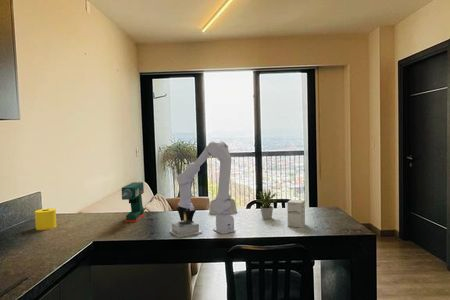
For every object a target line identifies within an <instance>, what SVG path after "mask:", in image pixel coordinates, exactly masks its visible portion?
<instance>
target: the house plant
mask: <svg viewBox="0 0 450 300" xmlns="http://www.w3.org/2000/svg"><path fill="white" fill-rule="evenodd" d="M263 191H264V192H262V191H259V194H258V193H256V195H257V196H258V197H259V198H260V199H261V200H255V202H258V203H261V204H262V206H260V213H261V218H262V220H270V219H271V220H272V218H273V212H274V211H273V210H274V207H273V205H272V204H273V203H276V204H278V202H277V201H276V198H274V199H273V197H275V196H277V195H278V193H280V192H274V193H273V194H272V191H271V189H269V190H268V193H267V192H266V190H265V188H264V190H263Z"/></svg>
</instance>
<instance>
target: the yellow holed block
mask: <svg viewBox="0 0 450 300" xmlns="http://www.w3.org/2000/svg"><path fill="white" fill-rule="evenodd" d="M56 211H57V210H56V208H53V207H51V208H41V209H37V210H35V211H34V215H35V216H34V218H35V230H37V231H44V230H52V229H54V228H56V227H57V213H56Z"/></svg>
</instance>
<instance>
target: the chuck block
mask: <svg viewBox="0 0 450 300" xmlns="http://www.w3.org/2000/svg"><path fill="white" fill-rule="evenodd" d="M168 231H169V233H170V234H172V235H173V236H175V237H177V238H183V237H184V238H185V237H189V236H193V235H200V234H202V232H203V231H202V230H200V225H199V223H197V222H196V221H193V220H192V221H191V220H187V221H181V220H180V221H177V222H171V228H170V229H169V230H168Z"/></svg>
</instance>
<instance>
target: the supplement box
mask: <svg viewBox="0 0 450 300" xmlns="http://www.w3.org/2000/svg"><path fill="white" fill-rule="evenodd" d="M305 202H306V200H303V199H289V201H287V227H294V228H295V227H296V228H303V227H304V226H305V225H306V210H305V209H306V205H305V204H306V203H305Z"/></svg>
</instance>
